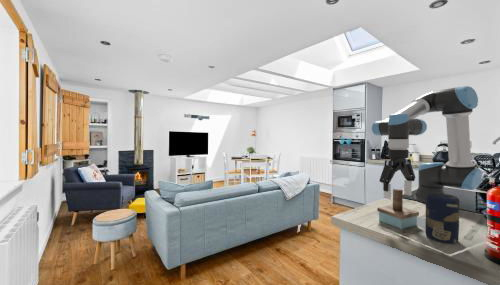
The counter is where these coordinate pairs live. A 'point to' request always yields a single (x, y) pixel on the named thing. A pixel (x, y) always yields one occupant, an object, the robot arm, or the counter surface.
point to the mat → (421, 222)
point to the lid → (398, 207)
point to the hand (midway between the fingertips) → (397, 196)
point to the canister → (442, 217)
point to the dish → (398, 221)
